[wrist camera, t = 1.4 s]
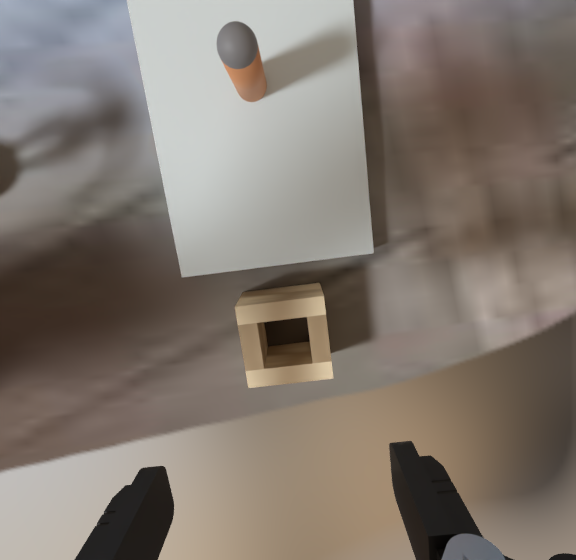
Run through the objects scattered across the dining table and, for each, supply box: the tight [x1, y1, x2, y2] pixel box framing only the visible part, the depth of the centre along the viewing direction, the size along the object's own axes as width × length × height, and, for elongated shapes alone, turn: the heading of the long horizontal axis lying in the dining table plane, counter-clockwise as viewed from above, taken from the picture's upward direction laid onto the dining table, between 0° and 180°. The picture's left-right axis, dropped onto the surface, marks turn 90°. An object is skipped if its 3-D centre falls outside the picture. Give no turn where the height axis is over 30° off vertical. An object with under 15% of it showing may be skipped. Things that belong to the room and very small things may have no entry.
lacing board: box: [127, 0, 374, 278], centre depth 21 cm, size 14×18×8 cm
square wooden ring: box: [235, 283, 333, 388], centre depth 26 cm, size 6×6×4 cm
